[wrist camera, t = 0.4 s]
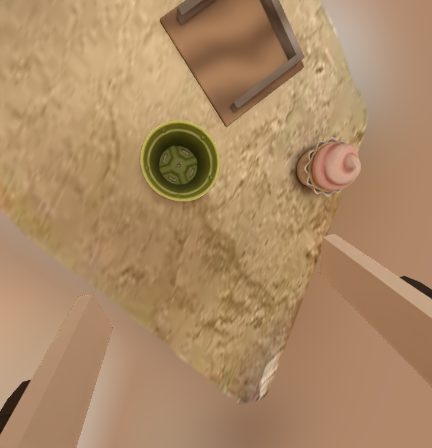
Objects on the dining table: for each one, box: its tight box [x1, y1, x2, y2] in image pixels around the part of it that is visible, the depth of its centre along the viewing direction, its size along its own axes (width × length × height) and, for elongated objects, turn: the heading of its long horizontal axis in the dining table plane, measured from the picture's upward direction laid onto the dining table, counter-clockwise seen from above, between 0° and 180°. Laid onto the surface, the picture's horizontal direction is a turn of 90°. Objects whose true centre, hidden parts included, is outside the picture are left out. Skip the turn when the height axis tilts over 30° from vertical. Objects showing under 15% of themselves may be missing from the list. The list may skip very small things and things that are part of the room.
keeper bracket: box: [160, 0, 304, 126], centre depth 30 cm, size 16×16×2 cm
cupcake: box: [297, 137, 361, 196], centre depth 33 cm, size 9×9×10 cm
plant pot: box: [140, 120, 220, 201], centre depth 29 cm, size 9×9×9 cm
